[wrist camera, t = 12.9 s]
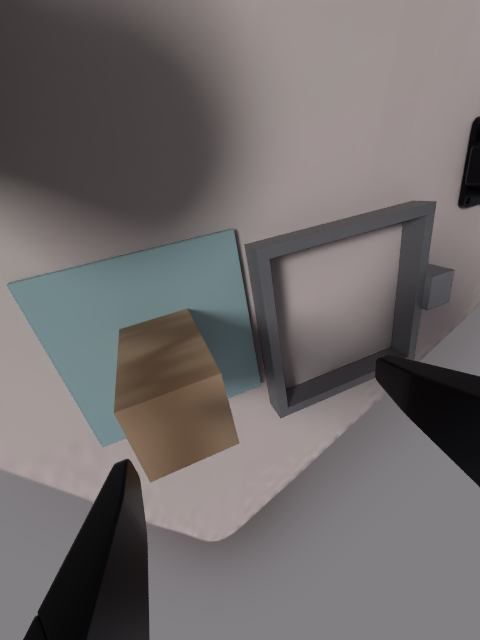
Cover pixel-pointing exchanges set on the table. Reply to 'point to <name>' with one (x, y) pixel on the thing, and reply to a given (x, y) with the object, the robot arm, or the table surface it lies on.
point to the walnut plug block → (170, 395)
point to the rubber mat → (139, 316)
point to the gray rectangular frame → (412, 294)
